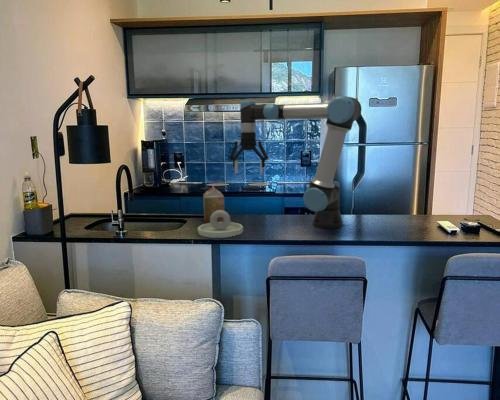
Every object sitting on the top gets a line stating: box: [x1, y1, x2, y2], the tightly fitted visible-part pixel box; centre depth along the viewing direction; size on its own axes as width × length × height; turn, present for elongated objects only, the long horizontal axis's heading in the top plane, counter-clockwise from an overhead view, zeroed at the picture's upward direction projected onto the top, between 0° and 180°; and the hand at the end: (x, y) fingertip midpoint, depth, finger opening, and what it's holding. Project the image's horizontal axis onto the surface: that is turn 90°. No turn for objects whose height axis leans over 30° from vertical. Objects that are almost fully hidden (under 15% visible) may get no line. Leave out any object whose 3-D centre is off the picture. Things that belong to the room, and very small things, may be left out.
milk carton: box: [202, 185, 225, 224], centre depth 231 cm, size 11×11×19 cm
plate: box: [197, 221, 244, 239], centre depth 208 cm, size 22×22×2 cm
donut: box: [210, 210, 231, 230], centre depth 207 cm, size 10×4×10 cm, turn 90°
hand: (248, 173), depth 219 cm, fingers open, 13 cm apart
